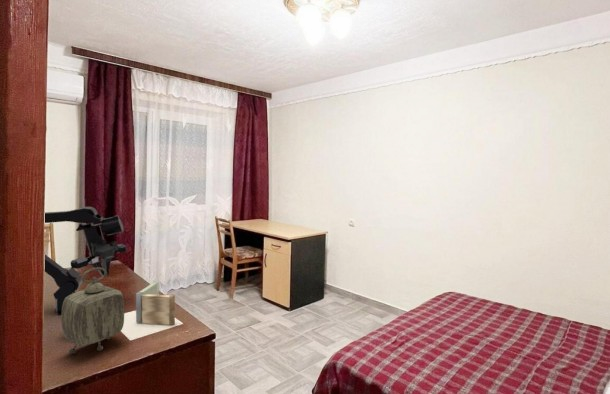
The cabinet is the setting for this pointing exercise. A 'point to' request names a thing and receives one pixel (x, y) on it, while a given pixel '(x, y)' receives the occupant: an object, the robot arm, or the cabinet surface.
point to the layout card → (141, 327)
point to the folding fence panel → (149, 289)
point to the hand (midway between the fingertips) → (105, 276)
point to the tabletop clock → (92, 313)
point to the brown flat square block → (158, 309)
